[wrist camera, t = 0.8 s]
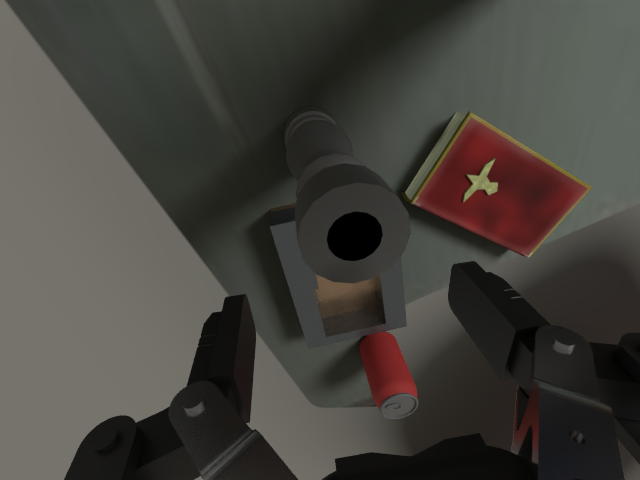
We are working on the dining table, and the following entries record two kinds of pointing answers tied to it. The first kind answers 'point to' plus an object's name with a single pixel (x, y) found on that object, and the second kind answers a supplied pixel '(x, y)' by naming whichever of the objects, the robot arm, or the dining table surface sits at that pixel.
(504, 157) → the hardcover book
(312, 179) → the candle holder
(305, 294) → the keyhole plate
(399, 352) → the beer can
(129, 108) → the dining table surface
